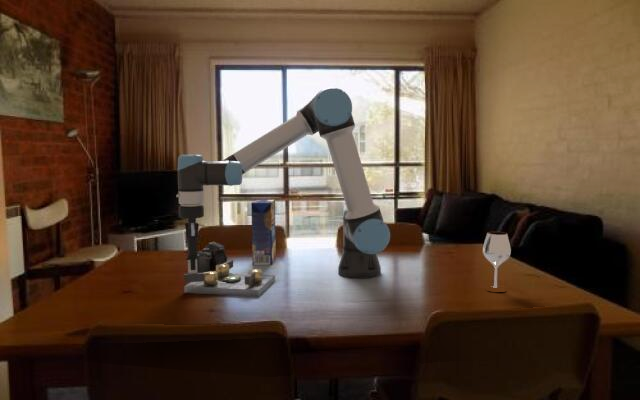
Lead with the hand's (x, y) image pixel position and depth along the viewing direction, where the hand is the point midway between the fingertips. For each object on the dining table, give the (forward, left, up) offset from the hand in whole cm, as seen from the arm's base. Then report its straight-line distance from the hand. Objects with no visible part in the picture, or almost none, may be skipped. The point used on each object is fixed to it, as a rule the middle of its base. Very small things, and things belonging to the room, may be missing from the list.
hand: (193, 279), depth 151 cm
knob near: (-3, 0, -1) cm, 3 cm away
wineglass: (-93, -16, -4) cm, 95 cm away
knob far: (-5, -14, -1) cm, 15 cm away
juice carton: (-10, -42, -4) cm, 43 cm away
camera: (+5, -26, -4) cm, 27 cm away
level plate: (-10, -6, -4) cm, 13 cm away
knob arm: (-18, -3, -1) cm, 19 cm away
